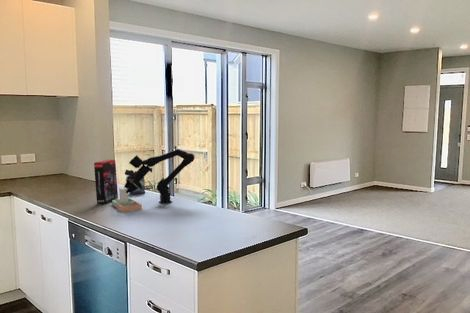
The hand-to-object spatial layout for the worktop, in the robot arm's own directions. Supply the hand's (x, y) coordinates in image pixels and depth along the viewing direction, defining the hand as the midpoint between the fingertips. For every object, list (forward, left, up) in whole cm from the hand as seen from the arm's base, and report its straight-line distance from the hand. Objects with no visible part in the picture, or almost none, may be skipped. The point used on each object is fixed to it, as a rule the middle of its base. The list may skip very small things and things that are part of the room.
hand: (124, 191), depth 252 cm
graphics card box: (+19, +1, -9) cm, 21 cm away
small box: (+25, -28, -9) cm, 39 cm away
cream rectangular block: (0, +1, -9) cm, 9 cm away
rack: (-5, +3, -9) cm, 10 cm away
